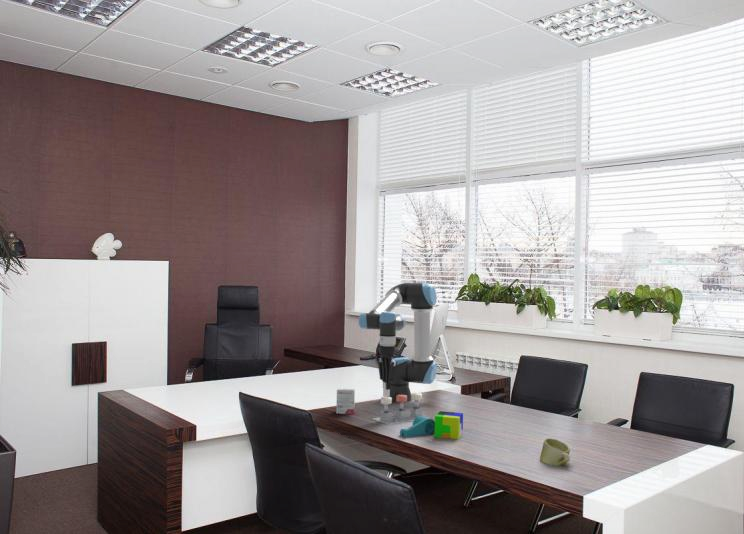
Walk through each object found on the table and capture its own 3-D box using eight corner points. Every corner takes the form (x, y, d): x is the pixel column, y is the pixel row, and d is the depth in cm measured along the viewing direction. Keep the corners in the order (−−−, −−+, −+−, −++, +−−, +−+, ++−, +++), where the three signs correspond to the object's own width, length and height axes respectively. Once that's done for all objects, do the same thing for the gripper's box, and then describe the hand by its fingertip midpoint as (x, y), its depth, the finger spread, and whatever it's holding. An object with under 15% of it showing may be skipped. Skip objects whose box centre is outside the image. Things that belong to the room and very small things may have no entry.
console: (412, 414, 304) (412, 404, 304) (429, 420, 293) (430, 409, 293) (372, 420, 290) (372, 409, 290) (388, 426, 279) (389, 415, 279)
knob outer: (387, 410, 290) (387, 396, 290) (393, 412, 286) (393, 398, 286) (378, 411, 287) (378, 397, 287) (384, 413, 283) (385, 399, 283)
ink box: (354, 412, 306) (355, 388, 306) (353, 414, 301) (354, 390, 301) (337, 411, 307) (338, 387, 307) (336, 413, 302) (336, 389, 302)
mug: (531, 451, 231) (545, 430, 228) (553, 462, 233) (568, 441, 230) (540, 470, 219) (555, 449, 217) (564, 482, 221) (579, 461, 218)
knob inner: (417, 406, 300) (417, 392, 300) (423, 408, 296) (424, 394, 296) (409, 407, 297) (409, 393, 297) (415, 409, 293) (415, 395, 293)
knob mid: (402, 408, 295) (402, 394, 295) (408, 410, 291) (409, 396, 291) (394, 409, 292) (394, 395, 292) (400, 411, 288) (400, 397, 288)
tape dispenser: (436, 436, 266) (436, 418, 266) (406, 440, 258) (407, 421, 258) (427, 432, 272) (427, 414, 272) (398, 436, 264) (398, 418, 264)
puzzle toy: (462, 436, 266) (463, 413, 266) (458, 442, 256) (458, 418, 256) (439, 434, 269) (440, 411, 269) (434, 439, 259) (434, 416, 260)
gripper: (372, 344, 290) (371, 394, 290) (389, 347, 279) (388, 399, 279) (385, 343, 294) (384, 392, 294) (402, 346, 283) (401, 397, 283)
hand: (386, 396), depth 286 cm, fingers closed
